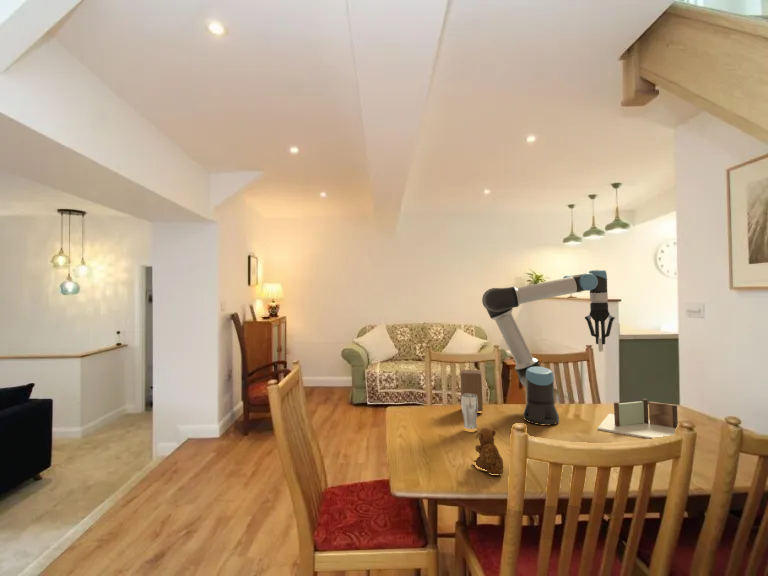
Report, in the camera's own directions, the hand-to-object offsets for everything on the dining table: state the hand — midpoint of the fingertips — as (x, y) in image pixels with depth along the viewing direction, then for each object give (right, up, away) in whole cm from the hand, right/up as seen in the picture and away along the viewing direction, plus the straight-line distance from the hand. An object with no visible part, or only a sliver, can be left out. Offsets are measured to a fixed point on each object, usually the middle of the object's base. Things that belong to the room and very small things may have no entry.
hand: (601, 351), depth 187 cm
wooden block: (-60, -32, +8) cm, 68 cm away
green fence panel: (+1, -28, -21) cm, 35 cm away
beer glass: (-67, -31, -19) cm, 76 cm away
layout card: (+4, -29, -23) cm, 37 cm away
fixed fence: (+13, -29, -22) cm, 38 cm away
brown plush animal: (-69, -31, -58) cm, 95 cm away
